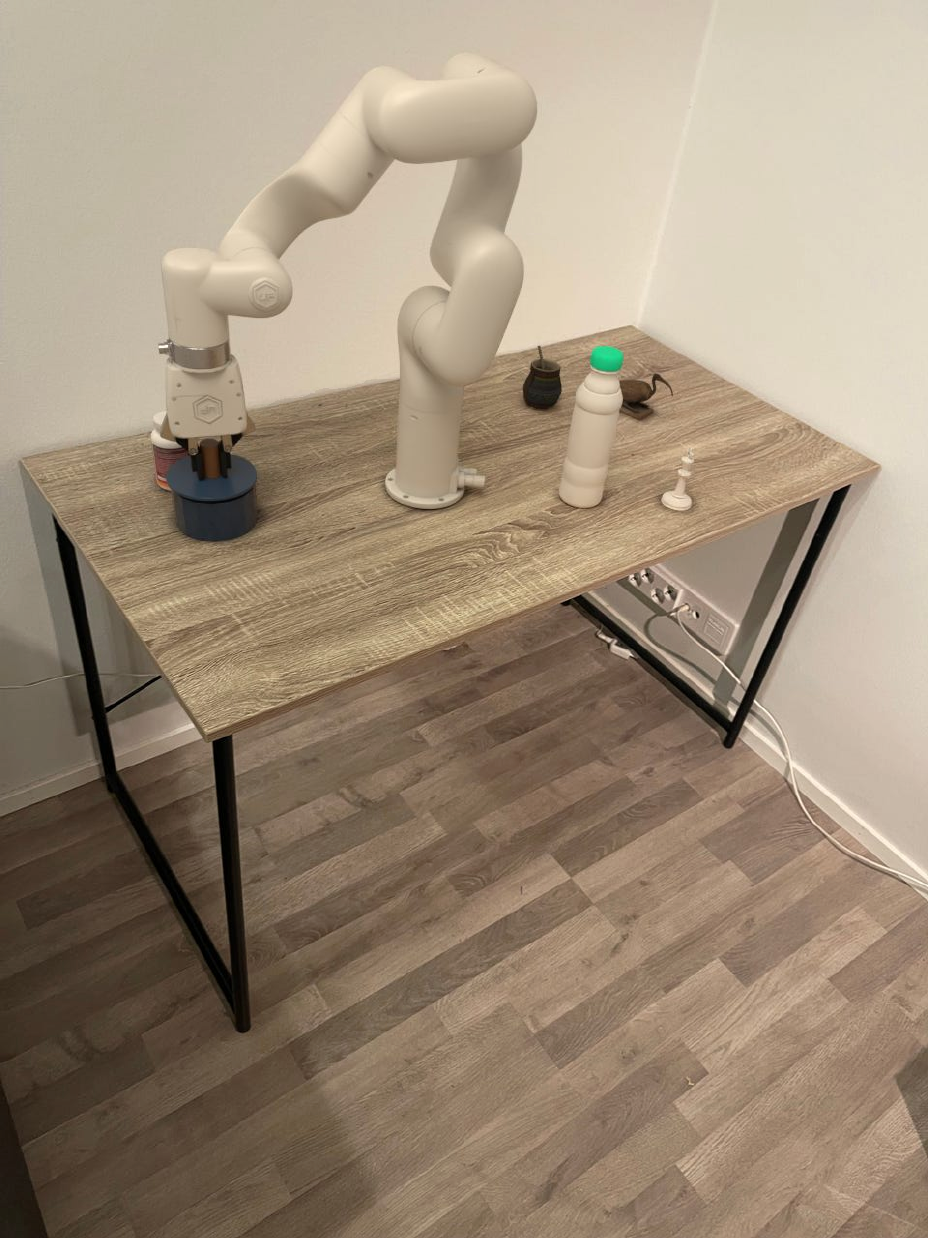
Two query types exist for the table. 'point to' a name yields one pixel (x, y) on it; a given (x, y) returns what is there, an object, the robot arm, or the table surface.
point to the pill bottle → (164, 451)
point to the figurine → (638, 396)
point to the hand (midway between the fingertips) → (212, 472)
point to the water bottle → (592, 430)
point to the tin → (216, 516)
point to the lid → (211, 476)
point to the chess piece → (680, 486)
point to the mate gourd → (542, 384)
